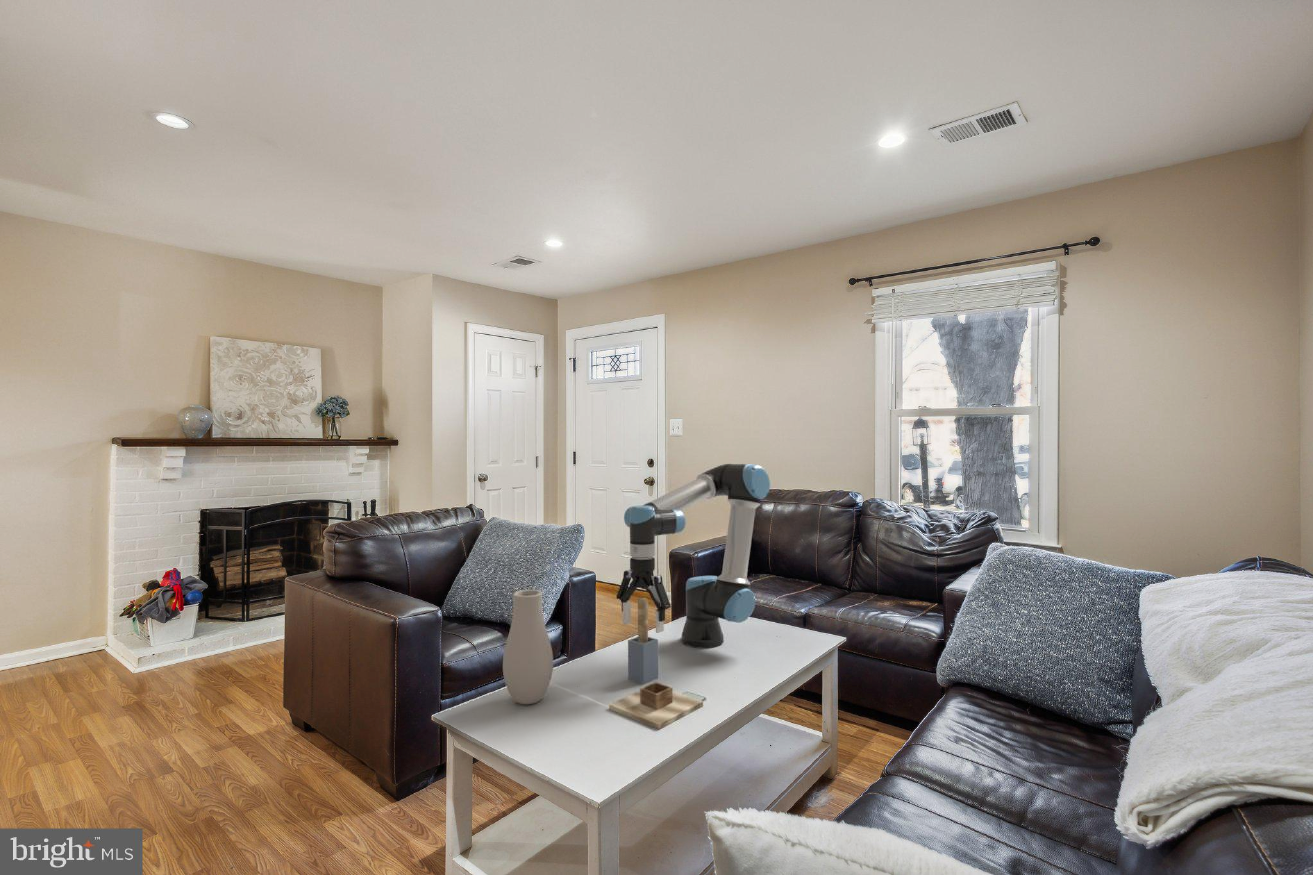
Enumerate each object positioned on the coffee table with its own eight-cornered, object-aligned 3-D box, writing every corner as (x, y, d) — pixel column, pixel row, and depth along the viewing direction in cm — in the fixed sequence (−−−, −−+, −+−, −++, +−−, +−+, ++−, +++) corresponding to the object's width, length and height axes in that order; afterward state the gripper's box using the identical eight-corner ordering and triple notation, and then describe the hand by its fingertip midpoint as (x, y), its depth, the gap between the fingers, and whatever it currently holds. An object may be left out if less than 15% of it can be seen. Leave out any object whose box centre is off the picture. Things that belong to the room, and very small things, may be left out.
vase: (548, 711, 163) (548, 598, 164) (497, 711, 163) (496, 599, 164) (556, 690, 177) (556, 586, 177) (509, 690, 177) (508, 587, 177)
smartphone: (707, 697, 171) (677, 717, 158) (707, 700, 171) (677, 720, 158) (685, 690, 175) (654, 709, 163) (685, 693, 175) (654, 712, 163)
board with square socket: (653, 688, 178) (653, 670, 178) (703, 705, 166) (702, 686, 166) (609, 708, 164) (609, 689, 165) (659, 729, 152) (659, 708, 153)
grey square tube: (642, 673, 189) (642, 635, 189) (658, 679, 185) (657, 639, 185) (628, 679, 185) (628, 640, 185) (643, 685, 180) (643, 644, 180)
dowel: (643, 675, 187) (642, 597, 187) (650, 678, 185) (649, 598, 185) (636, 678, 185) (635, 599, 185) (643, 681, 183) (642, 600, 183)
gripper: (604, 554, 191) (605, 622, 190) (665, 564, 174) (665, 638, 174) (621, 550, 196) (622, 616, 196) (682, 560, 180) (682, 632, 179)
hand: (642, 627), depth 185 cm, fingers open, 13 cm apart
